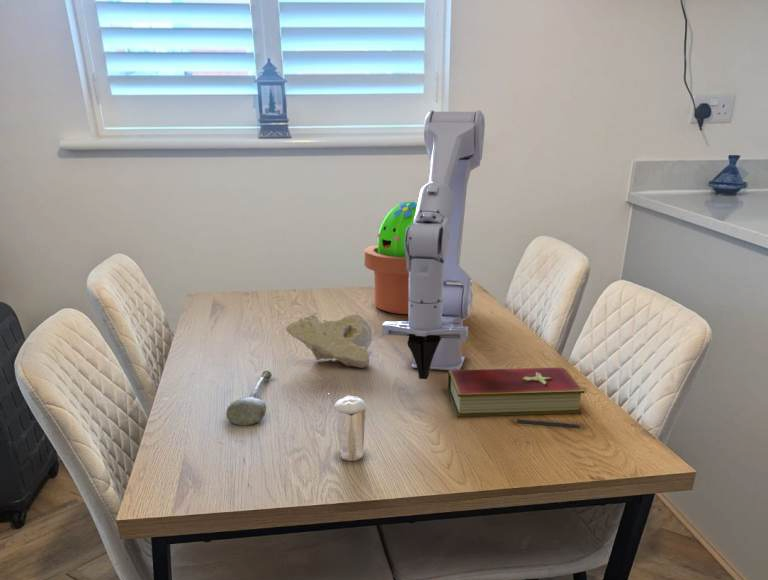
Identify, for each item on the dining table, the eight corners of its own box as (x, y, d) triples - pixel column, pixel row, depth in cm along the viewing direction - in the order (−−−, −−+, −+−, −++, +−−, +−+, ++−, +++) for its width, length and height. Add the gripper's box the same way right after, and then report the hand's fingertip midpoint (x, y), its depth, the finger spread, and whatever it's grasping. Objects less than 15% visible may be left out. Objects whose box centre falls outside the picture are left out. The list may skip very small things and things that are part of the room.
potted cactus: (413, 291, 194) (415, 190, 181) (472, 306, 179) (477, 198, 166) (349, 304, 182) (345, 198, 169) (405, 323, 167) (406, 208, 154)
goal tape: (517, 422, 117) (517, 422, 117) (524, 384, 132) (524, 383, 132) (579, 428, 115) (579, 427, 115) (579, 388, 130) (579, 387, 130)
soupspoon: (222, 429, 117) (262, 431, 117) (220, 410, 115) (261, 412, 115) (251, 377, 136) (285, 379, 136) (249, 360, 134) (284, 362, 134)
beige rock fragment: (387, 368, 146) (352, 310, 149) (389, 351, 139) (352, 290, 142) (320, 401, 144) (286, 341, 147) (319, 385, 136) (283, 322, 140)
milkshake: (330, 450, 108) (327, 388, 103) (366, 449, 109) (364, 386, 104) (331, 464, 105) (328, 399, 99) (368, 462, 105) (366, 398, 100)
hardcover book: (447, 390, 130) (448, 368, 127) (562, 387, 131) (564, 364, 128) (457, 416, 119) (458, 393, 117) (581, 413, 120) (584, 389, 118)
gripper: (377, 303, 118) (378, 381, 124) (465, 307, 115) (461, 388, 122) (387, 292, 124) (387, 368, 130) (471, 297, 121) (467, 374, 127)
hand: (423, 377), depth 126 cm, fingers closed
